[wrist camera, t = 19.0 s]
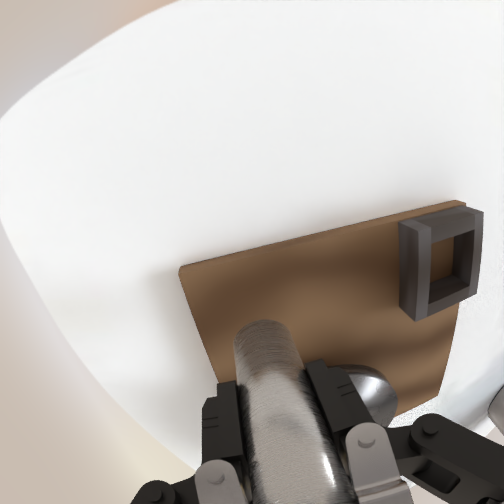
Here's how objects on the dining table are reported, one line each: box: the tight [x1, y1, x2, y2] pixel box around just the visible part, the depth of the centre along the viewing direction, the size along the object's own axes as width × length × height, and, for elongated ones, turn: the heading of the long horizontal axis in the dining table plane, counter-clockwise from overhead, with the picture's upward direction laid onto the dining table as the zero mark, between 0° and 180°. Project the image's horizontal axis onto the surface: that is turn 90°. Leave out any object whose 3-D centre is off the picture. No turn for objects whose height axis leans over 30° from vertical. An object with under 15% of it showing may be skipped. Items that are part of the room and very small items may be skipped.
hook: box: [233, 319, 355, 504], centre depth 8 cm, size 5×3×11 cm, turn 12°
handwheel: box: [327, 364, 398, 427], centre depth 17 cm, size 12×12×6 cm
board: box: [178, 200, 484, 418], centre depth 19 cm, size 20×20×3 cm
